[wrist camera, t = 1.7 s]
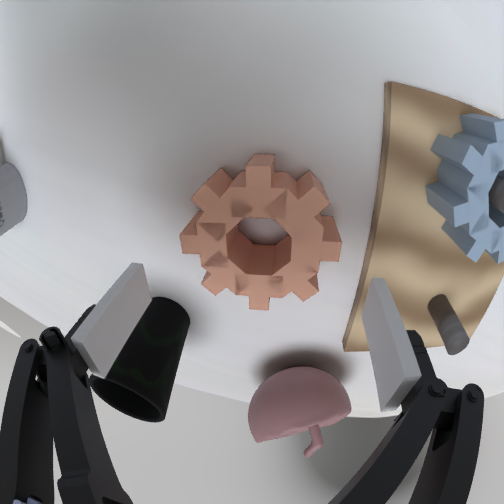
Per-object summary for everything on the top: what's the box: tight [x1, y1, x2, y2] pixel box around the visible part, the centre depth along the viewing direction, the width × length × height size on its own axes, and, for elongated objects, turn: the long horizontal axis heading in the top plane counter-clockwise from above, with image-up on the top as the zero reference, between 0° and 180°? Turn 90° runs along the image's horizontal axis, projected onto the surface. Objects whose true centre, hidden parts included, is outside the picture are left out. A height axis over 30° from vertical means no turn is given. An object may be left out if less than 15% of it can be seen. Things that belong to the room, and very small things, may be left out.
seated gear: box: [425, 113, 504, 264], centre depth 14 cm, size 11×11×4 cm
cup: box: [89, 297, 190, 422], centre depth 24 cm, size 8×8×12 cm
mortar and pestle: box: [248, 367, 351, 457], centre depth 27 cm, size 12×12×11 cm
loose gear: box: [180, 154, 342, 310], centre depth 20 cm, size 11×11×4 cm
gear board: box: [342, 82, 504, 355], centre depth 17 cm, size 26×18×8 cm
